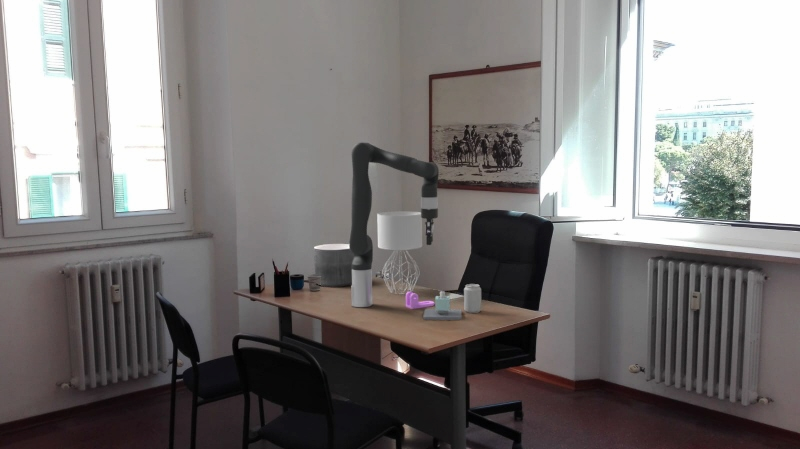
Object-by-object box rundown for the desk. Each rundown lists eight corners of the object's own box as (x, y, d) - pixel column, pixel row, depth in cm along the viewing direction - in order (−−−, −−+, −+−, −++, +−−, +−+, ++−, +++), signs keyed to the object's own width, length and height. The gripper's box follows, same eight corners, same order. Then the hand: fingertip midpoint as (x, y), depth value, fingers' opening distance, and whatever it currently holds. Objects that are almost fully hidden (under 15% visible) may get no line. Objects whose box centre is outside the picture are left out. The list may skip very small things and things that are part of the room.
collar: (435, 310, 281) (435, 299, 280) (435, 307, 287) (435, 296, 286) (449, 310, 280) (449, 299, 280) (449, 307, 286) (449, 296, 286)
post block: (423, 319, 278) (422, 295, 277) (425, 311, 292) (424, 288, 291) (461, 320, 276) (460, 295, 275) (461, 311, 290) (461, 288, 289)
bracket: (411, 309, 297) (411, 294, 296) (405, 306, 302) (405, 291, 301) (436, 305, 303) (436, 290, 302) (430, 303, 308) (430, 288, 307)
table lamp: (369, 292, 333) (368, 214, 328) (398, 285, 349) (397, 210, 345) (403, 298, 318) (401, 216, 314) (431, 290, 335) (430, 212, 330)
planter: (354, 286, 348) (353, 249, 345) (312, 287, 347) (311, 250, 345) (356, 278, 370) (355, 243, 367) (317, 279, 369) (316, 244, 367)
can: (470, 314, 286) (470, 287, 284) (460, 310, 292) (460, 284, 291) (484, 312, 289) (484, 285, 288) (475, 308, 296) (474, 282, 294)
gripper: (422, 206, 299) (422, 241, 300) (419, 208, 285) (420, 245, 286) (438, 205, 298) (438, 241, 300) (437, 208, 284) (437, 245, 286)
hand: (429, 243), depth 293 cm, fingers open, 8 cm apart
